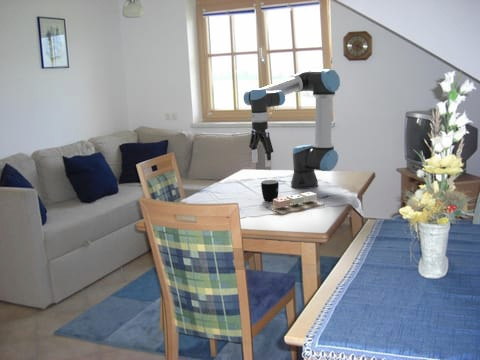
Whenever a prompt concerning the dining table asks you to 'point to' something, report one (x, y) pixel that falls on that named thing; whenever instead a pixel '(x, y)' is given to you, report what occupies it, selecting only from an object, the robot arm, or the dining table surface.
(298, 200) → the tile
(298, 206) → the board
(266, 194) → the mug
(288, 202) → the pink square block
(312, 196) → the tile
